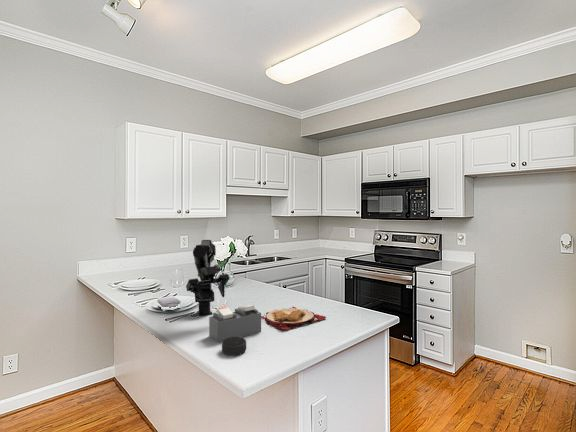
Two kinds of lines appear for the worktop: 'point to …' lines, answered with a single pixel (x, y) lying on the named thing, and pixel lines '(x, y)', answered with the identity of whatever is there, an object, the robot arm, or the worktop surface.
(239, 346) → the smart speaker
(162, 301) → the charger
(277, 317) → the plate with food
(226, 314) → the rocker
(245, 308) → the block
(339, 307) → the worktop surface
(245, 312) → the switch box
